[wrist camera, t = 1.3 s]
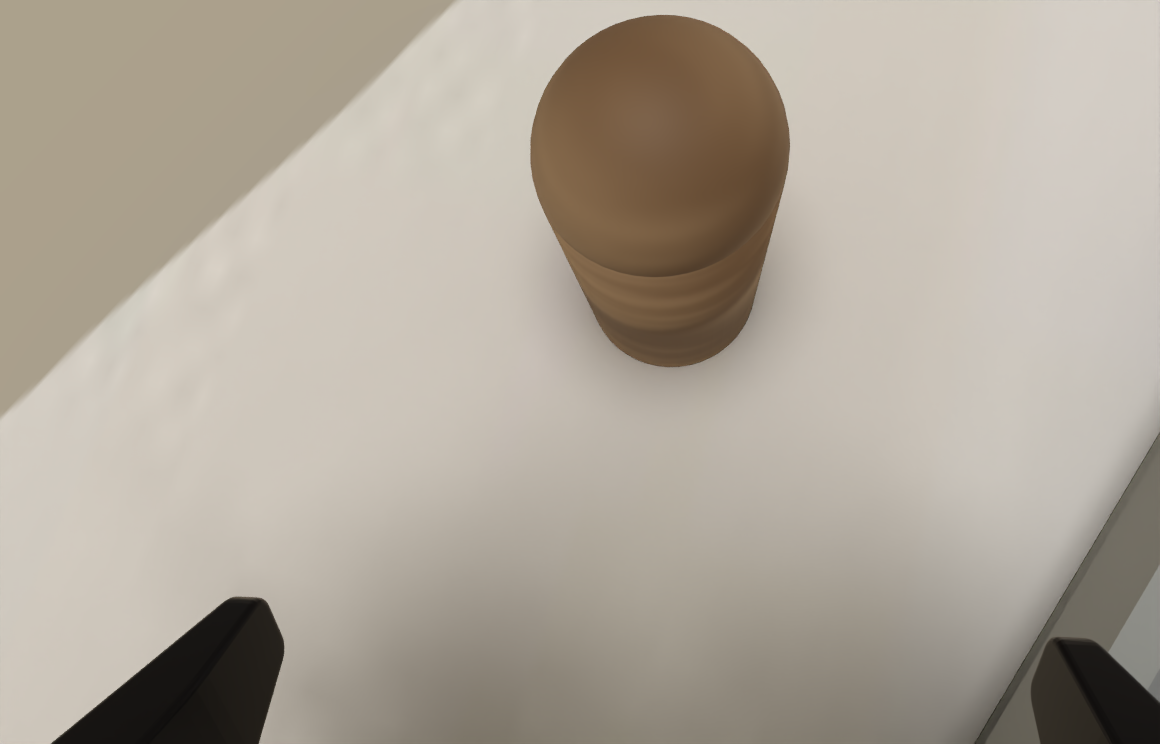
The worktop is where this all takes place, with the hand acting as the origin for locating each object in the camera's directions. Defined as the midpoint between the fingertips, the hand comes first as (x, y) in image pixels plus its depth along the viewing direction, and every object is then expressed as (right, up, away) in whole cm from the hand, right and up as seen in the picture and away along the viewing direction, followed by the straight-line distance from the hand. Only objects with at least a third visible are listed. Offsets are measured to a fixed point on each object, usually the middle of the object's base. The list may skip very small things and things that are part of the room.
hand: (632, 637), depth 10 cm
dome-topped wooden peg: (+2, +6, +15) cm, 16 cm away
